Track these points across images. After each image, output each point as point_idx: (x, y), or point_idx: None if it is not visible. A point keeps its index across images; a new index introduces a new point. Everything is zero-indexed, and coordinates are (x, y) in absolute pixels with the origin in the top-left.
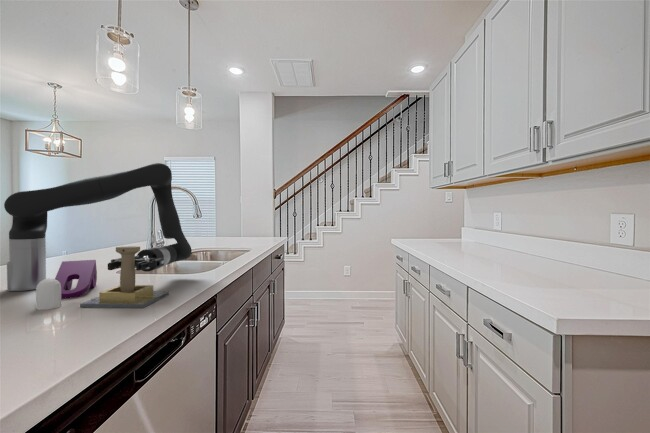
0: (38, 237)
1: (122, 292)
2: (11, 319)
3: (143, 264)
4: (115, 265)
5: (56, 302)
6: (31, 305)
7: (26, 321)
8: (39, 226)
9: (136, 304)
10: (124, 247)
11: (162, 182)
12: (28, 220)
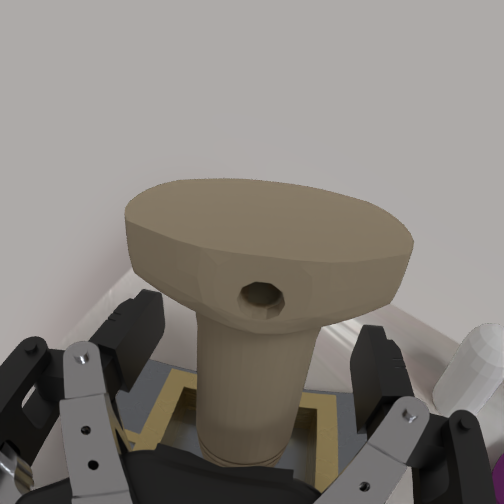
0: None
1: None
2: (426, 329)
3: (117, 310)
4: (364, 386)
5: (440, 387)
6: (500, 401)
7: (386, 320)
8: None
9: (162, 364)
10: (290, 195)
11: None
12: None
